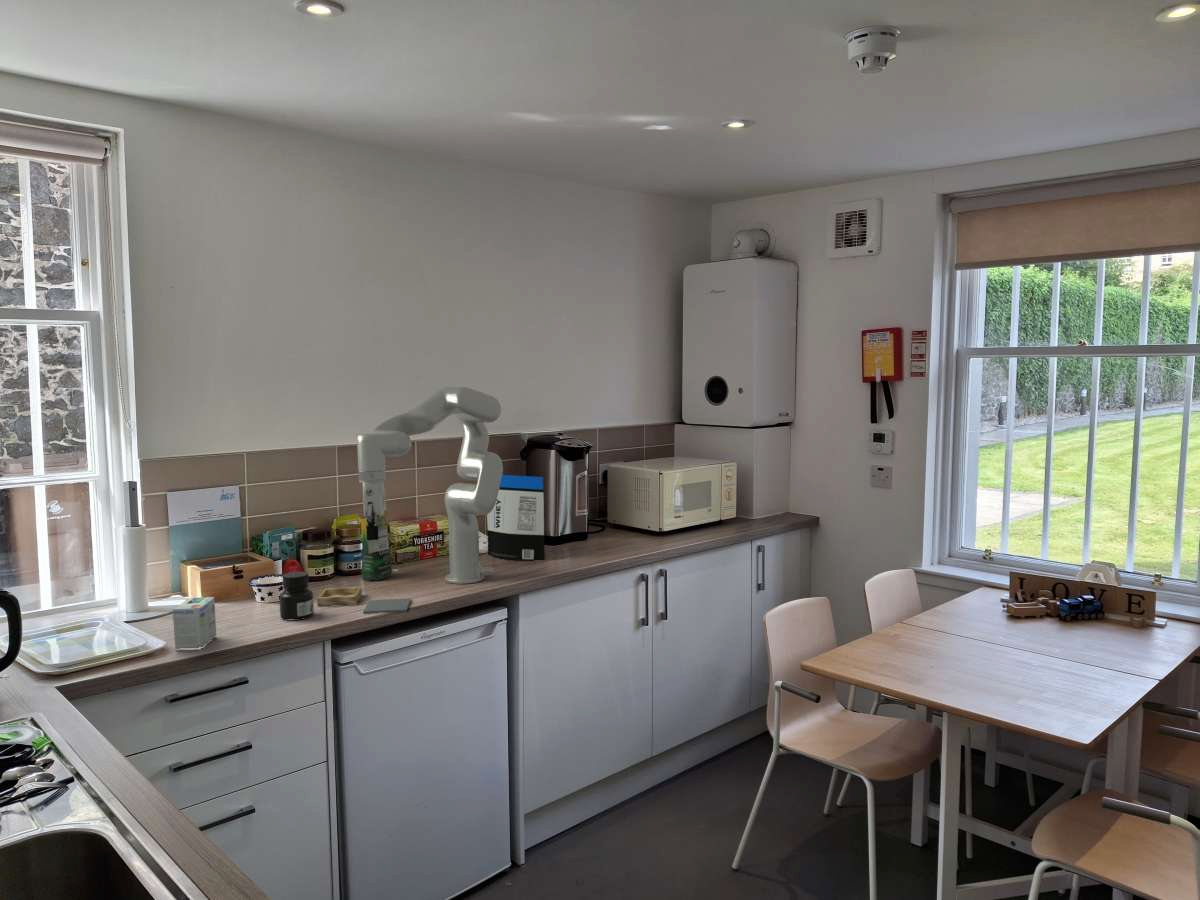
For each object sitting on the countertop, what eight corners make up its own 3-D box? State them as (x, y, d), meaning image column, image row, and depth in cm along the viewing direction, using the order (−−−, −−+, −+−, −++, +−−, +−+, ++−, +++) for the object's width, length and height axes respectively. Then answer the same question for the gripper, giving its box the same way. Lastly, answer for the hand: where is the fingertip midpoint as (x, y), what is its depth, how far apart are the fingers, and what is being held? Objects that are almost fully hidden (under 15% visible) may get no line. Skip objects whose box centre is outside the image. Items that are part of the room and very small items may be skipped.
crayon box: (382, 547, 254) (380, 509, 252) (389, 549, 252) (387, 509, 251) (362, 552, 248) (360, 513, 247) (368, 553, 246) (366, 513, 245)
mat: (410, 600, 256) (410, 598, 256) (406, 611, 244) (406, 609, 244) (369, 602, 255) (369, 600, 255) (363, 613, 243) (363, 611, 243)
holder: (361, 595, 263) (361, 587, 263) (356, 604, 252) (355, 596, 252) (325, 596, 262) (324, 588, 261) (317, 606, 251) (317, 598, 251)
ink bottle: (306, 621, 236) (304, 578, 235) (274, 621, 236) (272, 579, 235) (319, 611, 246) (317, 570, 245) (288, 611, 246) (286, 570, 245)
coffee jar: (375, 582, 278) (373, 526, 276) (357, 580, 282) (355, 524, 280) (396, 576, 287) (394, 521, 285) (378, 573, 290) (376, 519, 289)
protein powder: (537, 563, 303) (536, 478, 300) (480, 557, 313) (478, 475, 311) (551, 557, 311) (549, 475, 308) (495, 552, 322) (493, 472, 319)
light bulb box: (190, 638, 223) (188, 597, 222) (217, 637, 224) (215, 596, 223) (174, 651, 212) (171, 608, 211) (202, 650, 213) (199, 607, 212)
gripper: (380, 480, 239) (383, 542, 241) (390, 472, 256) (393, 530, 258) (352, 481, 239) (356, 543, 240) (364, 472, 256) (367, 531, 258)
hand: (375, 536), depth 249 cm, fingers closed on crayon box, 7 cm apart
